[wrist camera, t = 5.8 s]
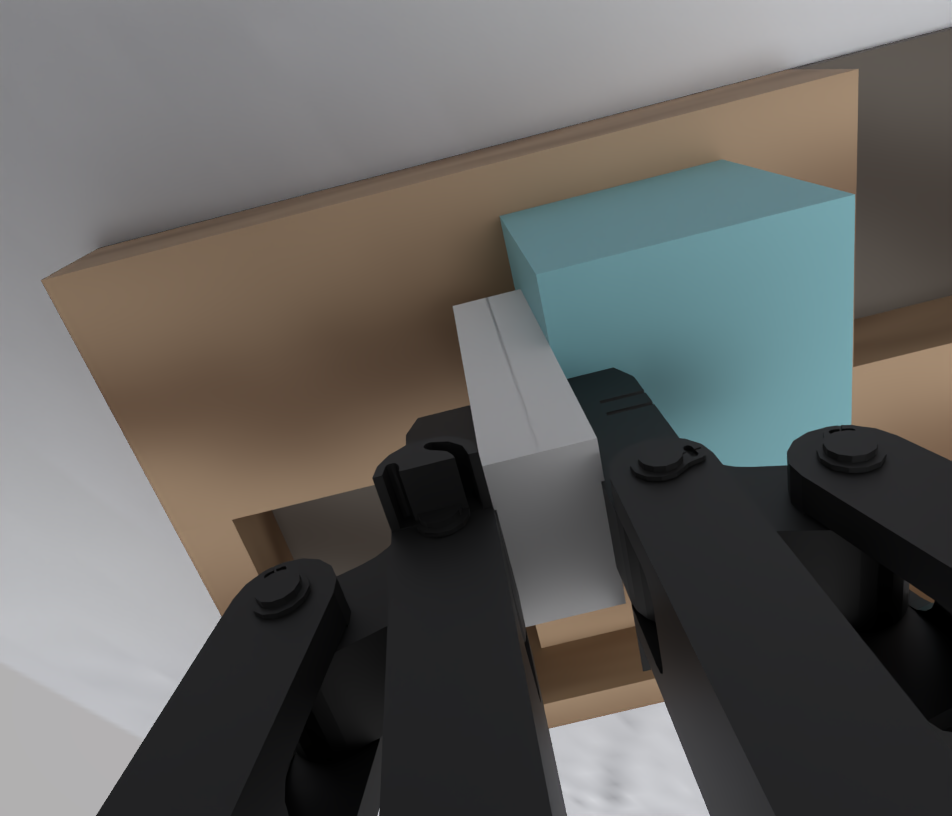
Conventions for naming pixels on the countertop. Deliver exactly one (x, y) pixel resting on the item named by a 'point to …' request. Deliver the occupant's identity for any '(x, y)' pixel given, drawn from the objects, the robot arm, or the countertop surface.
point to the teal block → (703, 299)
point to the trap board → (472, 278)
